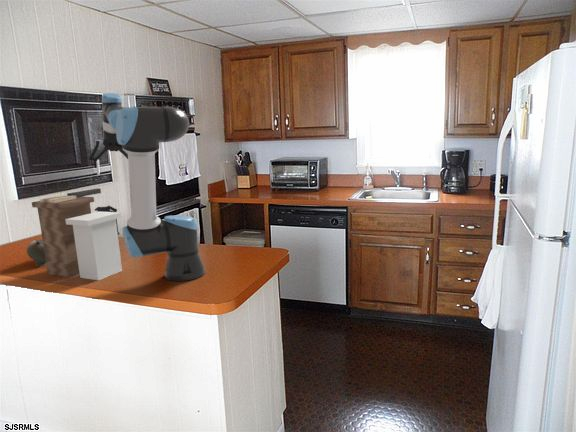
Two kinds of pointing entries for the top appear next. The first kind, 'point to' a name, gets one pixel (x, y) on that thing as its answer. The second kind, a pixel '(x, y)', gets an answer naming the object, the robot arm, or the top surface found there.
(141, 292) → the top surface
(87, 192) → the turner
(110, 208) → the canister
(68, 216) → the plinth
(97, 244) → the white tapered pedestal
